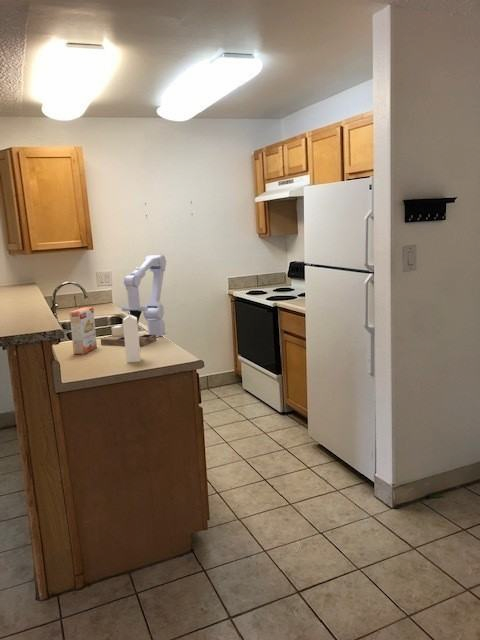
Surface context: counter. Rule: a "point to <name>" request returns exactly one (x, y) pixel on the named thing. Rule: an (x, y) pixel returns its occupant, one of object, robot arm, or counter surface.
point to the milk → (131, 338)
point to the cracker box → (83, 330)
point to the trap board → (120, 340)
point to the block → (117, 330)
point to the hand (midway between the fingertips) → (136, 325)
